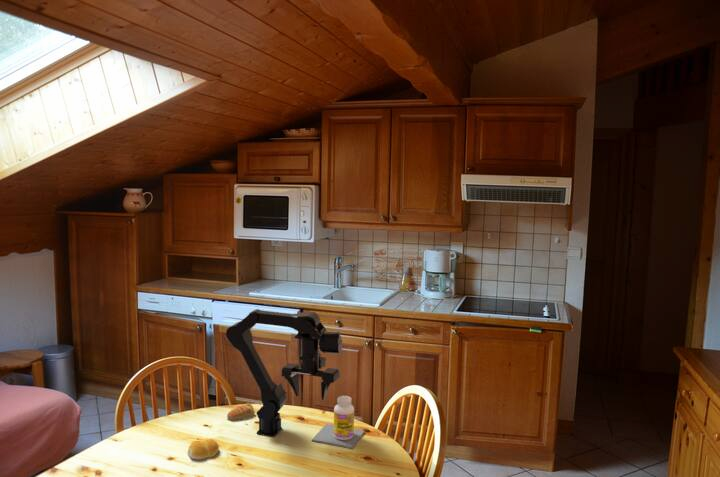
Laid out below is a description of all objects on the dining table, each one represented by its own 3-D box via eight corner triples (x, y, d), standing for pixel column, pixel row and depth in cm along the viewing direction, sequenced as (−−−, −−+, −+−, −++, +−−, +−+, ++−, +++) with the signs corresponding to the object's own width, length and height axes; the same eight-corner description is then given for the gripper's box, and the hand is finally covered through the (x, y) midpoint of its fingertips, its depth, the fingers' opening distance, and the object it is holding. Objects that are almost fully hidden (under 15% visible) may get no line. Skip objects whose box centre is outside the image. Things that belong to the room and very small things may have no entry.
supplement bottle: (334, 441, 167) (334, 403, 165) (332, 431, 173) (333, 394, 172) (354, 440, 167) (355, 402, 166) (352, 431, 174) (353, 394, 173)
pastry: (232, 423, 180) (232, 413, 179) (223, 417, 185) (223, 407, 184) (256, 416, 186) (256, 405, 186) (246, 410, 191) (246, 400, 191)
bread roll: (222, 455, 159) (222, 442, 158) (192, 463, 154) (192, 450, 153) (213, 443, 166) (213, 431, 165) (184, 451, 161) (184, 439, 160)
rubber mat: (311, 441, 168) (311, 439, 168) (326, 425, 179) (326, 423, 179) (352, 449, 163) (352, 447, 163) (364, 432, 175) (364, 430, 175)
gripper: (345, 347, 173) (345, 392, 174) (295, 342, 179) (295, 385, 181) (332, 357, 163) (333, 405, 164) (279, 351, 169) (280, 397, 170)
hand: (310, 398), depth 170 cm, fingers open, 9 cm apart
